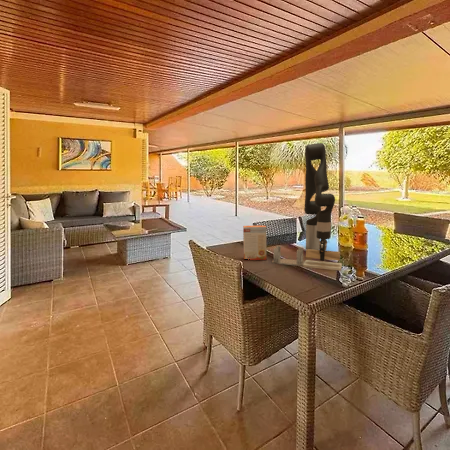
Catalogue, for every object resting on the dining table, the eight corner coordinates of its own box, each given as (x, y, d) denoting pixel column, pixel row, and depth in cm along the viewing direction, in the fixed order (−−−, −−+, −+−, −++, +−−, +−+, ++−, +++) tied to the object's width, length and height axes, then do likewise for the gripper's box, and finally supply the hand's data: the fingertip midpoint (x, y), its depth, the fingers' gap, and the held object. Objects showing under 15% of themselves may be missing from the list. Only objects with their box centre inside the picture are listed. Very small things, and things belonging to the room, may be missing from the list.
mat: (305, 261, 179) (306, 259, 179) (341, 265, 171) (342, 263, 171) (303, 266, 170) (303, 264, 170) (340, 270, 162) (341, 268, 162)
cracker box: (265, 257, 190) (265, 224, 186) (266, 260, 184) (266, 226, 180) (243, 257, 191) (243, 225, 187) (243, 260, 185) (243, 226, 181)
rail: (306, 255, 175) (307, 249, 174) (339, 258, 168) (340, 251, 167) (305, 257, 171) (305, 250, 171) (339, 260, 164) (339, 253, 163)
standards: (275, 259, 185) (275, 245, 184) (304, 262, 178) (305, 247, 176) (271, 263, 178) (271, 248, 176) (302, 266, 171) (302, 250, 169)
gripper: (318, 227, 175) (317, 255, 177) (314, 231, 162) (314, 262, 165) (331, 227, 172) (330, 256, 174) (329, 232, 159) (328, 263, 162)
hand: (322, 259), depth 170 cm, fingers closed on rail, 4 cm apart
